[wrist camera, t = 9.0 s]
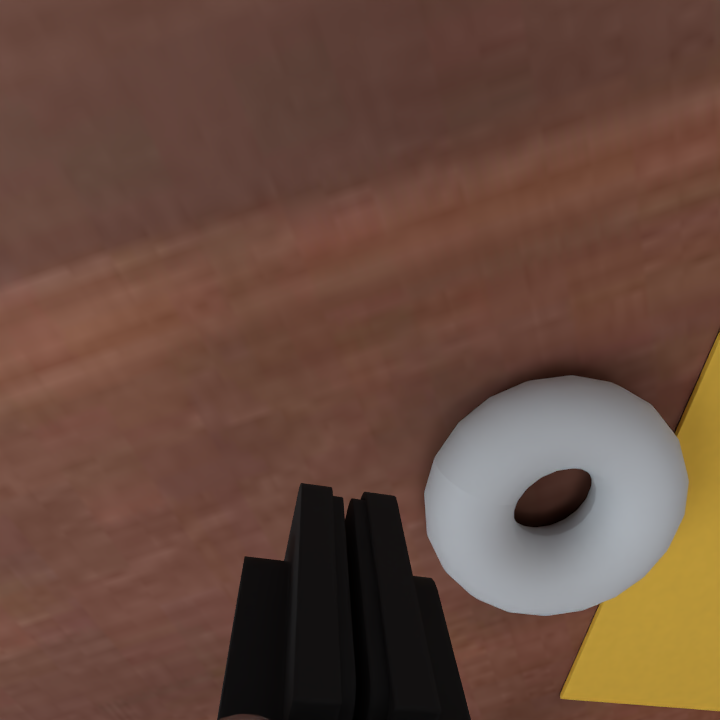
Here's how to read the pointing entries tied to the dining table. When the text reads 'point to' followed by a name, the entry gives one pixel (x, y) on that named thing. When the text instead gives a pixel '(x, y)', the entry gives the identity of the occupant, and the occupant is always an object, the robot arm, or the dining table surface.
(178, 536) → the dining table surface
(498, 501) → the donut
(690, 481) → the cloth
